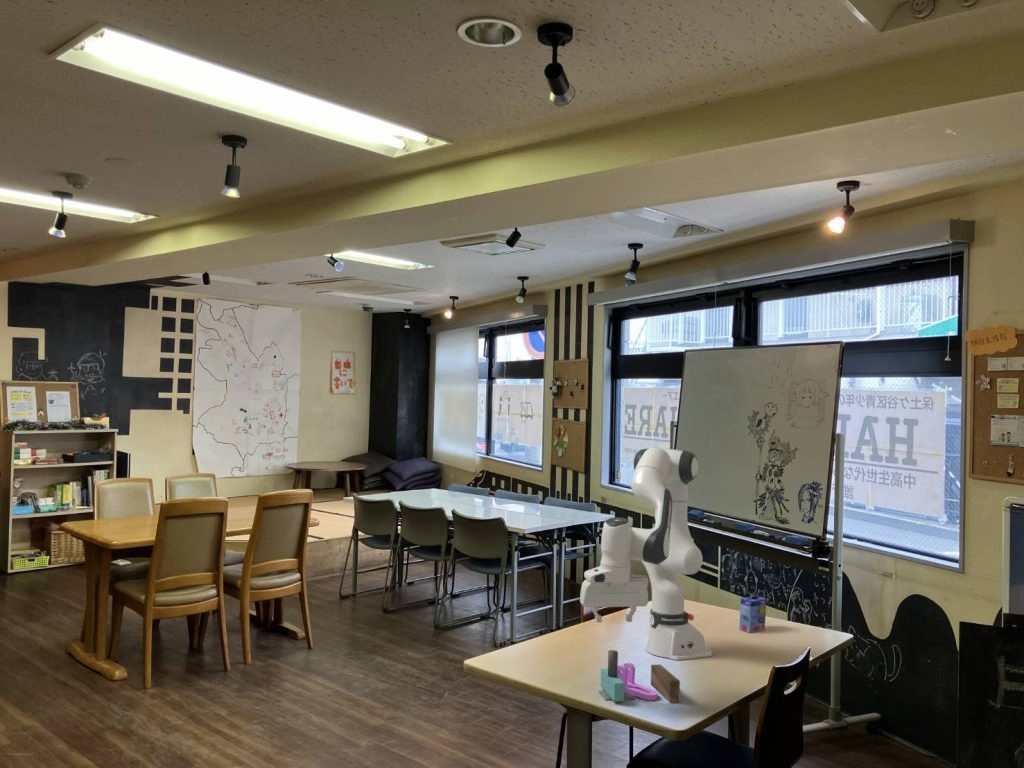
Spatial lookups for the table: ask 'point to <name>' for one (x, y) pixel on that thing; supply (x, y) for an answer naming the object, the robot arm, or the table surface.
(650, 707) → the table surface
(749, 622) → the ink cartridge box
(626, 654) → the table surface
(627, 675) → the bracket
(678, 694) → the base
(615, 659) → the clamp jaw
